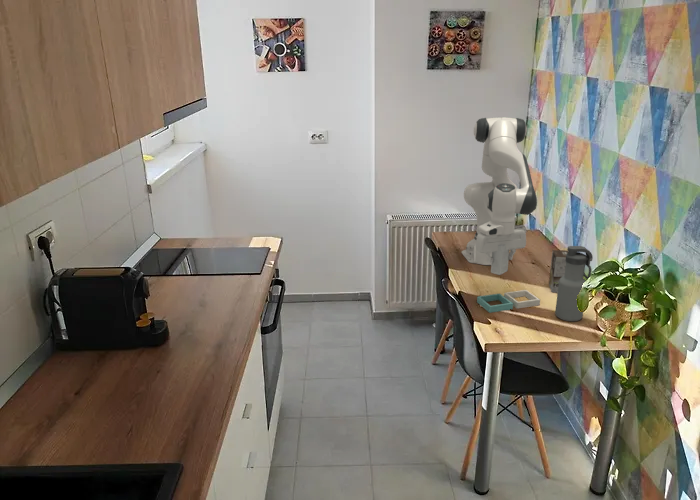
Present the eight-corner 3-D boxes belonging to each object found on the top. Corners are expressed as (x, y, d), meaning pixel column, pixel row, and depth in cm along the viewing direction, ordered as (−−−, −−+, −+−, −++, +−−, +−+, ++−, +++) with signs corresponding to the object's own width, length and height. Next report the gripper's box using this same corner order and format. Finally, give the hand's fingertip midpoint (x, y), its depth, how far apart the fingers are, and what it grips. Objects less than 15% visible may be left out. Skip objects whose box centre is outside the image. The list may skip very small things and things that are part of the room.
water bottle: (577, 310, 211) (586, 243, 202) (587, 322, 202) (597, 251, 192) (551, 310, 211) (559, 243, 202) (560, 322, 202) (568, 252, 192)
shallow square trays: (476, 302, 220) (477, 296, 219) (525, 295, 225) (525, 289, 224) (489, 312, 211) (489, 306, 210) (539, 305, 216) (540, 299, 215)
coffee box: (567, 293, 226) (572, 257, 221) (551, 292, 228) (555, 256, 222) (563, 284, 235) (568, 250, 229) (548, 284, 236) (552, 249, 231)
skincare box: (498, 268, 215) (500, 240, 211) (507, 271, 212) (510, 242, 208) (490, 272, 211) (492, 243, 207) (499, 275, 208) (502, 246, 204)
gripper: (521, 222, 211) (518, 255, 216) (474, 227, 206) (472, 260, 210) (531, 226, 205) (527, 260, 210) (482, 231, 200) (480, 266, 205)
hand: (499, 260), depth 210 cm, fingers closed on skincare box, 7 cm apart
